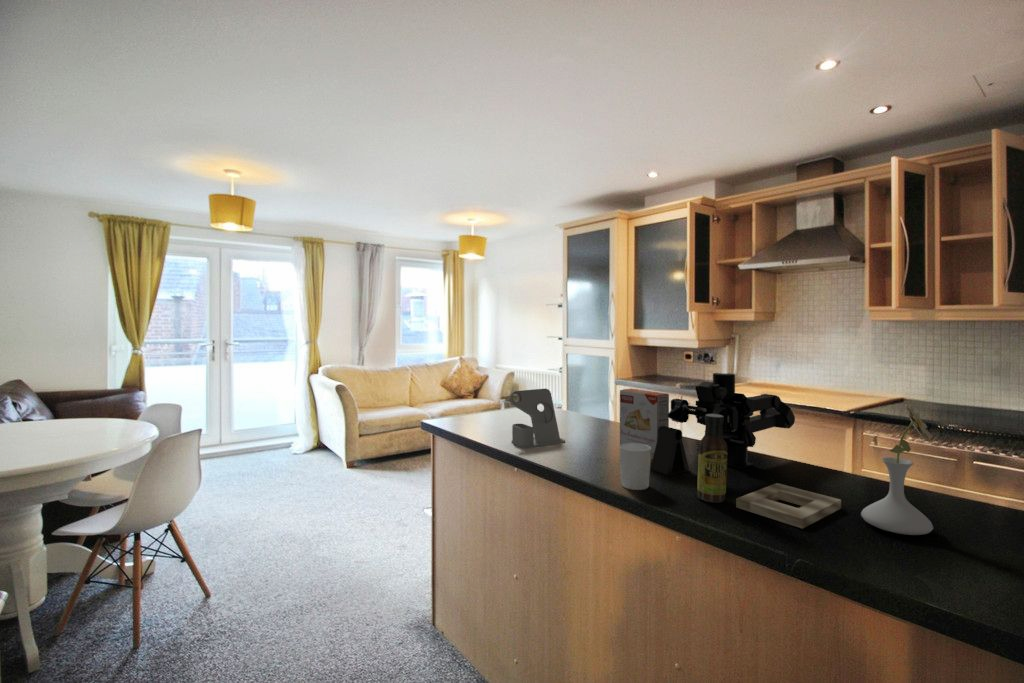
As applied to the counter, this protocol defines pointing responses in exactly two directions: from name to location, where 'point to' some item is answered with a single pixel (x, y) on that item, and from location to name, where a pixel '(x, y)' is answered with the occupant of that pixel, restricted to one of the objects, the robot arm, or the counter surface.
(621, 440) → the cracker box
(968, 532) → the counter surface
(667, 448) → the door stopper
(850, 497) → the counter surface
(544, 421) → the phone holder
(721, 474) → the sauce bottle
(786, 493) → the board
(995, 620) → the counter surface
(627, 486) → the white cup
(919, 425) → the flower in vase
